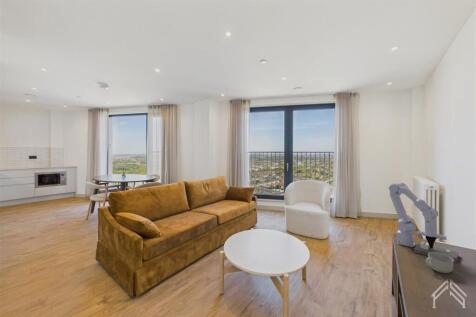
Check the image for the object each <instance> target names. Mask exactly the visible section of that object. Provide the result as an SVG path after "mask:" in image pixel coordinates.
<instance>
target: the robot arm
mask: <svg viewBox="0 0 476 317" xmlns="http://www.w3.org/2000/svg"><path fill="white" fill-rule="evenodd" d="M388 190H389V196H390V199H391V202H392V205H393V208H394V209H395V212H396V215H397V218H398V220H397V227H398V230H397V232H396V244H398V245H401V246H405V247H410V248H415V247H416V243H415V240H414V238H415V237H414V232H415V231H416V229H417V227H416V224H415V223H414V221H413V220H412V219H411V218H409V216H408V214H407V212H406V209H405V207H404V204H403V202H402V199H401V195H402V194H403V195H404V196H406V197H407V198H408V199H409V200H410V201H412V202H413V204H414V206H415V207H416V208H417V210H419V211H420V212H421V213H422V214H421V215H422V216H423V219H424V231H420V230H419V231H418V230H417V231H416V235H417V236H423V237H425V240H426V241H427V243H429V246H430V248H432V249H433V247H434V245H435V242H436V241H437V239H440V240H443V241H446V240H448V239H447V236H446V235H442V234H438V230H437V218H438V216H439V211H438V210H437V209H436V208H433V207H432V206H430V205H429V204H428V203H427V202H426V201H425V200H424V199H419V198H418V197H417V195H415V194H414V193H413V191H412V190H411V189H409V186H408V185H407V184H406V183H405V182H399V183H391V184H390V185H389V186H388Z"/></svg>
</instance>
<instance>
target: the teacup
mask: <svg viewBox="0 0 476 317" xmlns="http://www.w3.org/2000/svg"><path fill="white" fill-rule="evenodd" d="M425 264H426V265H427V266H429V267H430V268H431V269H432V270H434V271H436V272H438V273H440V274H449V273H451V272H453V270H454V267H455V266H454V264H455V262H454V259H453V258H451V257H450V256H447V255H445V254H441V253H436V252H430V253H428V256H427V258H426V259H425Z"/></svg>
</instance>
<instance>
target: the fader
mask: <svg viewBox="0 0 476 317" xmlns="http://www.w3.org/2000/svg"><path fill="white" fill-rule="evenodd" d="M419 244H420V248H422V249H426V250H429V248H430V246H429V243H428V241H427V242H426V241H421V242H420V243H419Z"/></svg>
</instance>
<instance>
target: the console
mask: <svg viewBox="0 0 476 317" xmlns="http://www.w3.org/2000/svg"><path fill="white" fill-rule="evenodd" d="M430 252H436V253H441V254H445V255H447V256H450V257H451V258H453V259H454V263H457V262H458V258H459V251H455V250H451V249H446V248H441V247H437V246H433V249H432V248H429V250H426V249H422V248H420V243H417V244H415V246H414V247H413V253H416V254H419V255H424V256H427V257H428V253H430Z"/></svg>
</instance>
